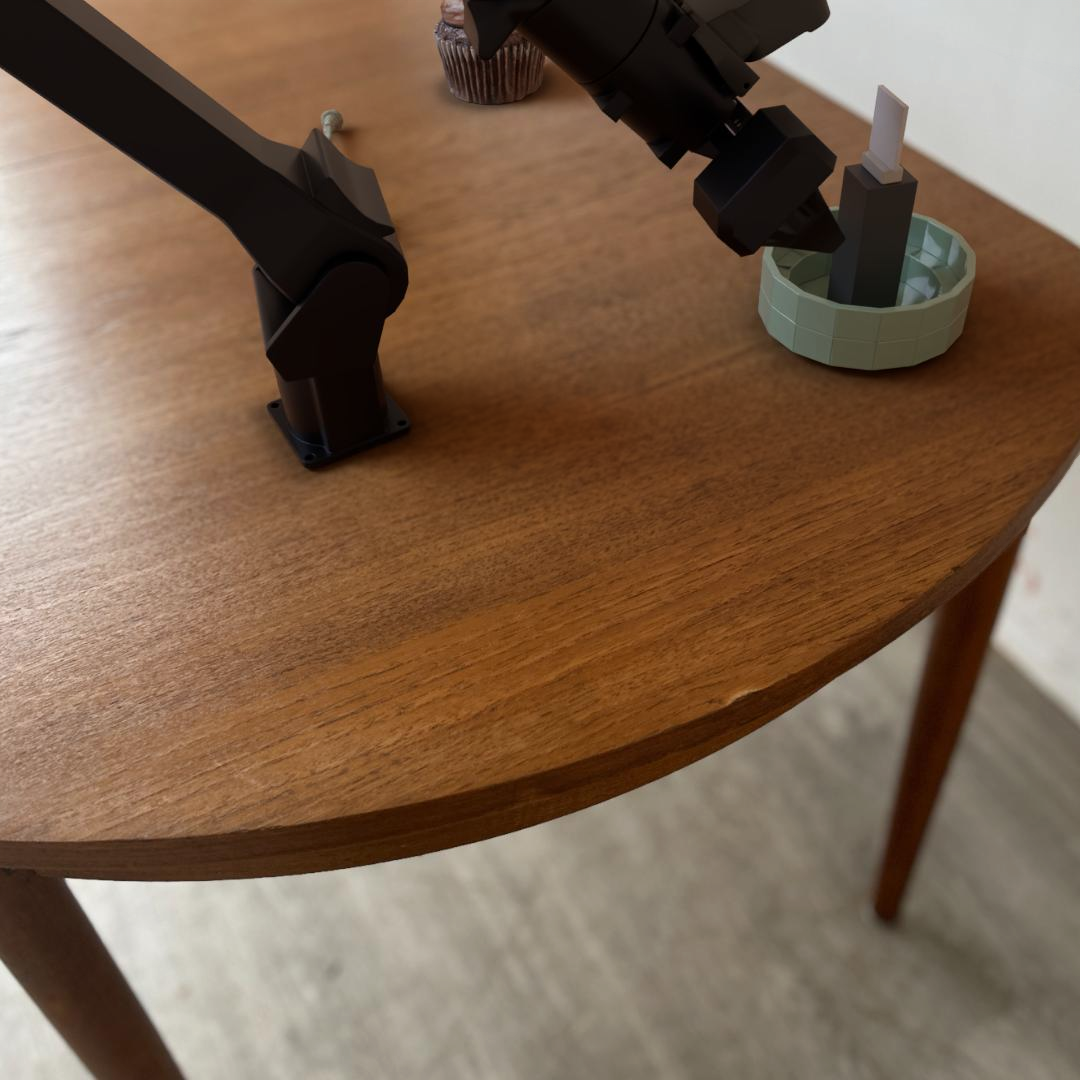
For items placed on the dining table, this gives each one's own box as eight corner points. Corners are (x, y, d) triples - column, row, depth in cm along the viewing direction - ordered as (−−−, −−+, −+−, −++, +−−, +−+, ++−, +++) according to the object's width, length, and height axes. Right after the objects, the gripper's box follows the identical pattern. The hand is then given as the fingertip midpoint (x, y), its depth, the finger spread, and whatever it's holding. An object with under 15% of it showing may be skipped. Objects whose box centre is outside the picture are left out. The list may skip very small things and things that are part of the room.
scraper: (847, 329, 71) (880, 111, 62) (825, 303, 73) (854, 88, 64) (893, 320, 72) (933, 102, 62) (870, 294, 74) (906, 80, 64)
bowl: (1003, 335, 71) (1021, 269, 68) (844, 402, 67) (855, 335, 64) (869, 249, 79) (879, 186, 76) (720, 305, 75) (724, 240, 72)
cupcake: (485, 53, 106) (475, -68, 99) (575, 75, 101) (571, -50, 94) (415, 93, 100) (400, -32, 93) (507, 118, 96) (498, -12, 89)
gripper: (820, -51, 47) (1008, 166, 57) (665, -164, 61) (838, 27, 70) (629, 166, 52) (833, 335, 61) (523, 16, 65) (704, 174, 74)
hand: (802, 205), depth 66 cm, fingers open, 9 cm apart
